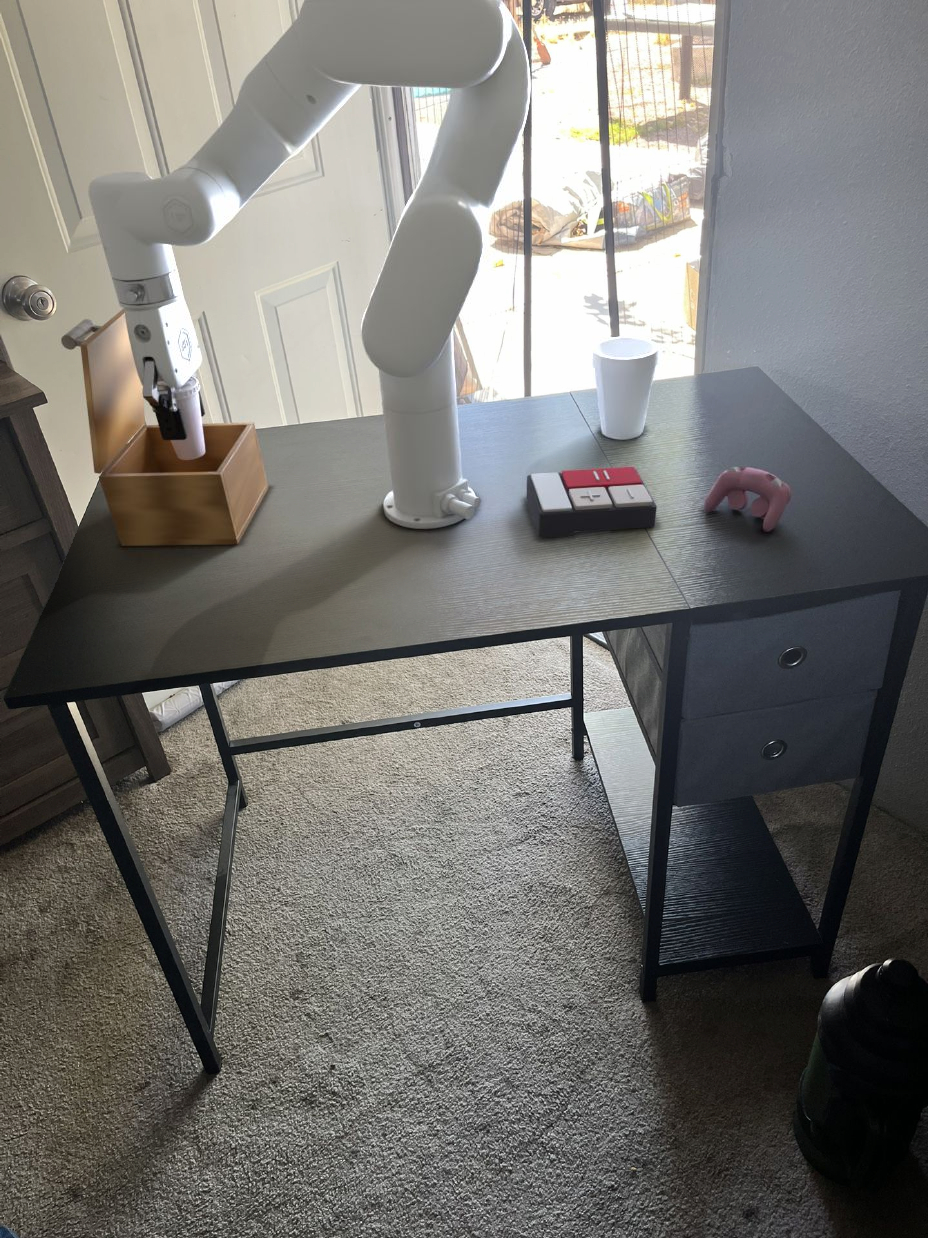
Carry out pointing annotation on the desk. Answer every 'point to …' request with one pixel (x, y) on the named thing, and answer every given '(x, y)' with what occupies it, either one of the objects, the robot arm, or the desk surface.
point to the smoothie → (188, 420)
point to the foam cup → (624, 383)
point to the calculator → (589, 501)
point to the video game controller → (755, 481)
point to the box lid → (108, 386)
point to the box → (186, 488)
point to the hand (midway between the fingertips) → (184, 426)
